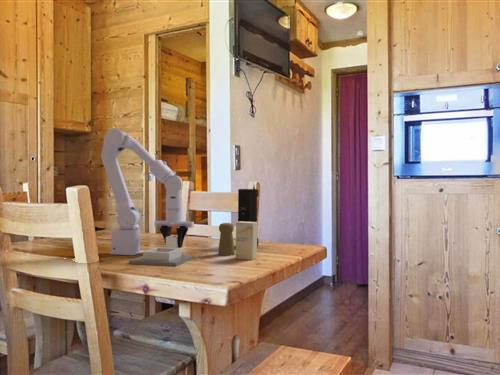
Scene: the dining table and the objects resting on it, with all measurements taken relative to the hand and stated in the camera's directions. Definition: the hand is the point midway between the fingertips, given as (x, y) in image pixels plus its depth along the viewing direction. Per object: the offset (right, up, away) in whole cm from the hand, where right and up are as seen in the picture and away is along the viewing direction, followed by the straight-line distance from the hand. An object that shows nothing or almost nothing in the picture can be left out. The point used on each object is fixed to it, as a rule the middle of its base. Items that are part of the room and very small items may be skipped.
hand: (174, 247), depth 154 cm
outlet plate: (-1, -2, -15) cm, 15 cm away
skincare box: (+26, -2, -11) cm, 28 cm away
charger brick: (0, -2, 0) cm, 2 cm away
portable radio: (+26, -2, +15) cm, 30 cm away
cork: (+19, -2, -3) cm, 19 cm away
